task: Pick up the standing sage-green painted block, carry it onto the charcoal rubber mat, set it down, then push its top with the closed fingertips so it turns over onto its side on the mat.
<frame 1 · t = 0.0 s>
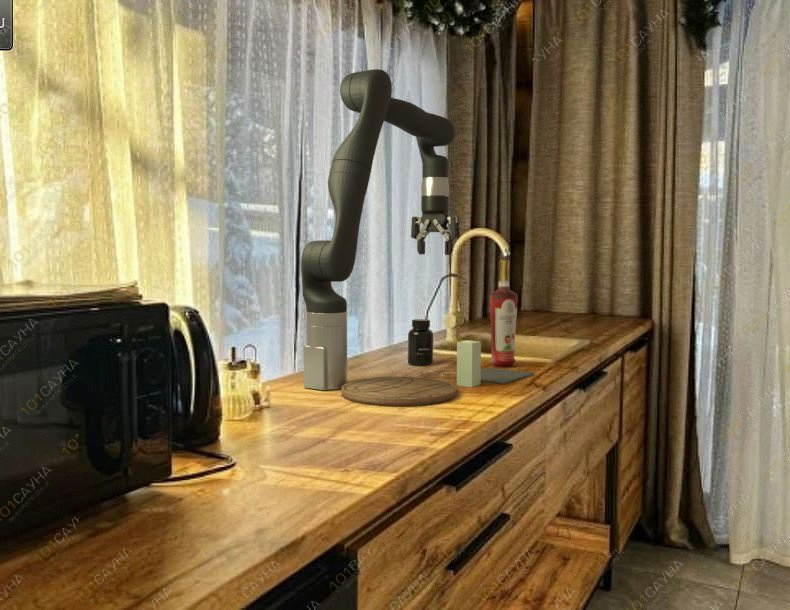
hand: (434, 254, 206), 29 cm above the worktop, fingers open, 8 cm apart
trivet: (398, 396, 164), on the worktop
block: (468, 384, 175), on the worktop
mat: (495, 376, 185), on the worktop
red sauce bottle: (502, 366, 201), on the worktop
supplement bottle: (420, 364, 203), on the worktop
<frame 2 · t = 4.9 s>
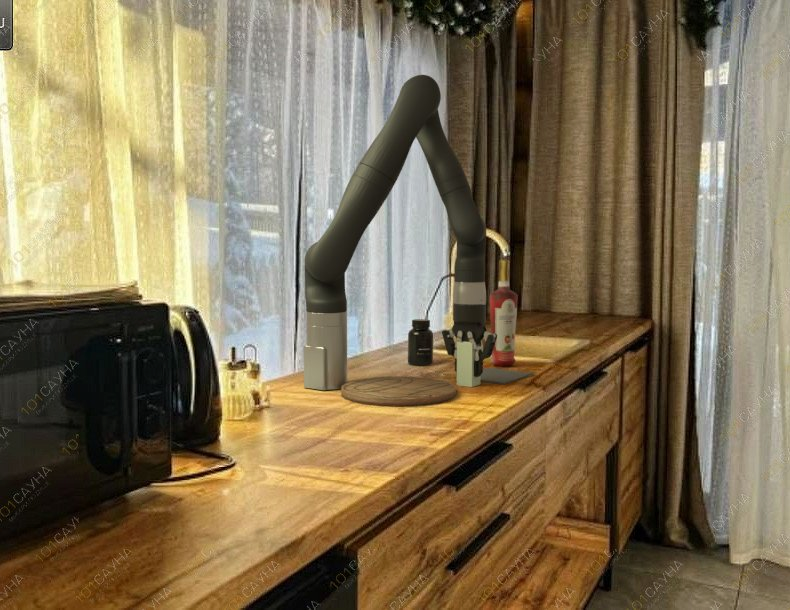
hand: (468, 375, 175), 2 cm above the worktop, fingers closed on block, 4 cm apart
block: (468, 384, 175), on the worktop, touching gripper
everything else where it was.
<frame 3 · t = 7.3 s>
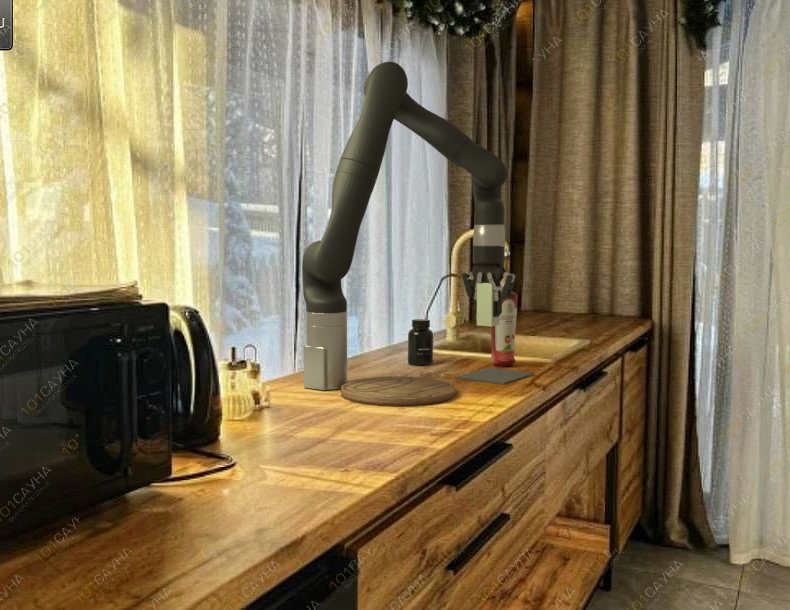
hand: (488, 315, 181), 15 cm above the worktop, fingers closed on block, 4 cm apart
block: (488, 325, 181), point 13 cm above the worktop, touching gripper
everything else where it was.
when the fingers open (3 cm above the worktop, at t = 10.1 s): block stays where it is, resting on mat.
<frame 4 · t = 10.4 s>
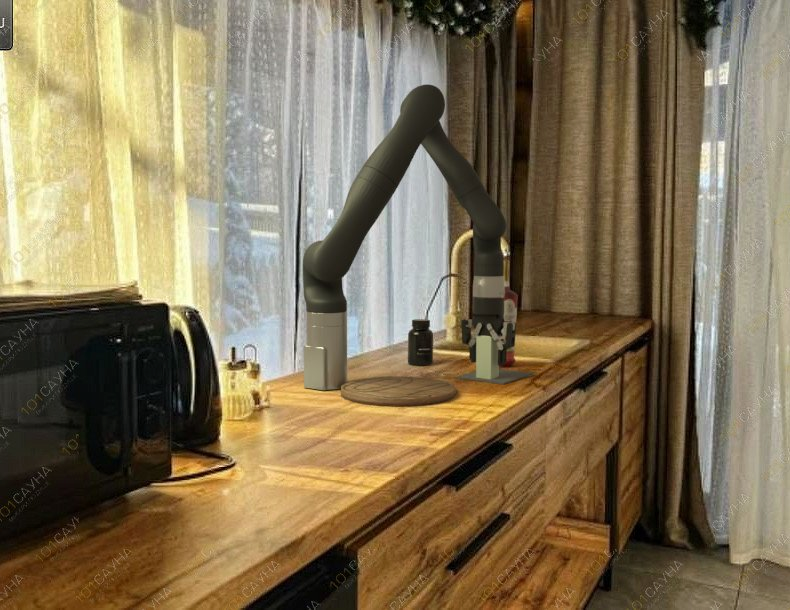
hand: (487, 363, 182), 4 cm above the worktop, fingers open, 6 cm apart
block: (487, 377, 182), resting on mat
everything else where it was.
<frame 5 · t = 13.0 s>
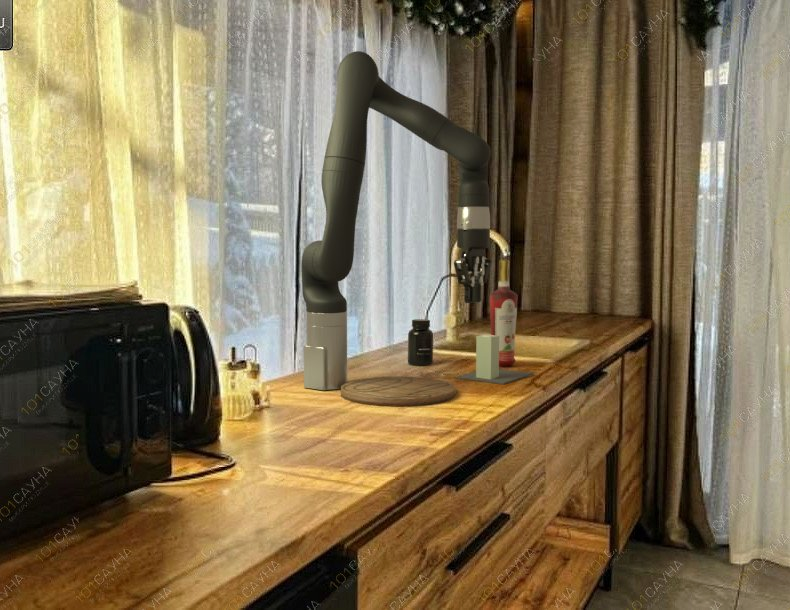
hand: (472, 302, 174), 19 cm above the worktop, fingers closed
nothing on the worktop moved.
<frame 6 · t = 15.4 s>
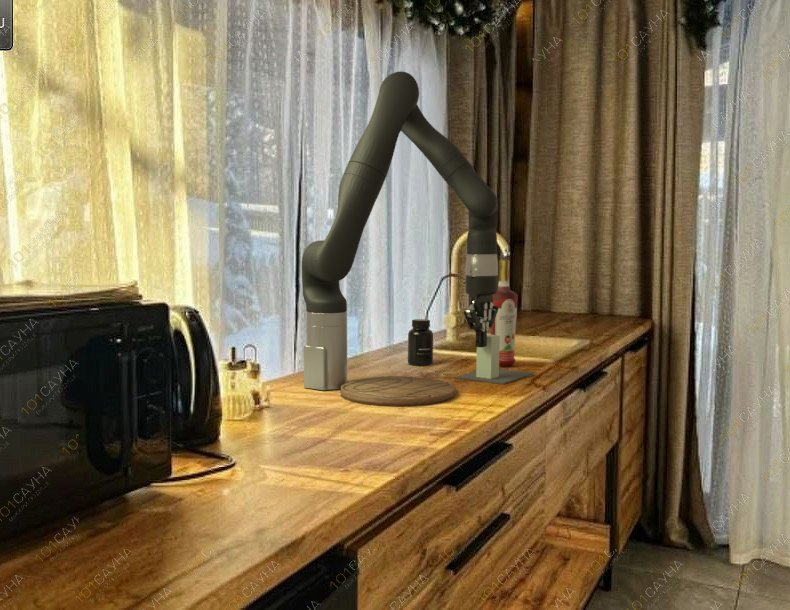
hand: (481, 346, 178), 8 cm above the worktop, fingers closed
block: (487, 376, 182), resting on mat, touching gripper
everything else where it was.
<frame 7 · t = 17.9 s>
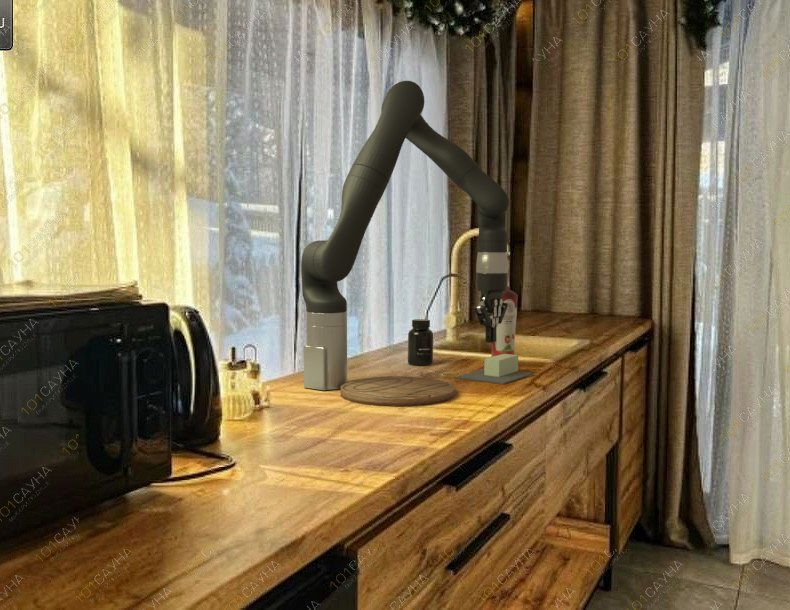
hand: (490, 342, 183), 9 cm above the worktop, fingers closed
block: (491, 367, 183), point 2 cm above the worktop, tilted 90°, touching mat
everything else where it was.
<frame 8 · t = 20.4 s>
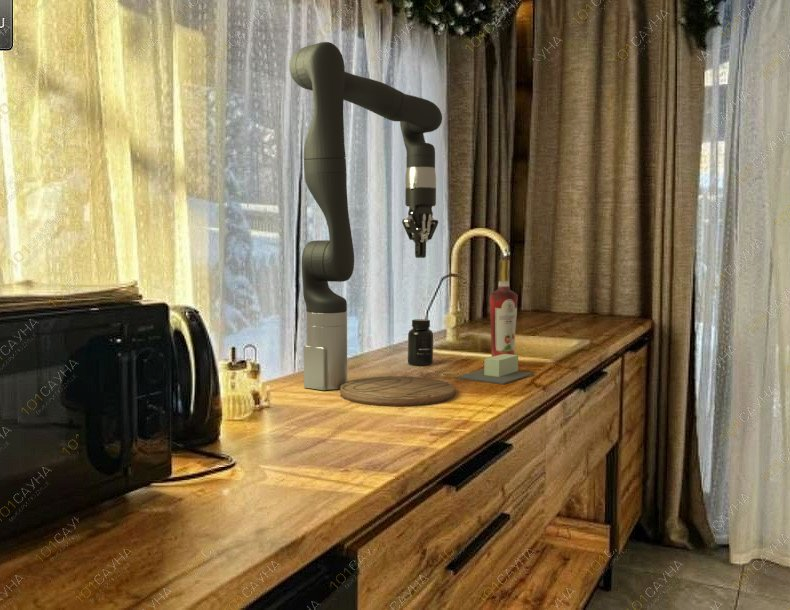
hand: (420, 257, 186), 29 cm above the worktop, fingers closed
nothing on the worktop moved.
at the end: block tilted 90°; block inside the target area on the mat (2.0 cm from its centre), point 2.4 cm above the mat's base; the gripper is holding nothing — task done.
